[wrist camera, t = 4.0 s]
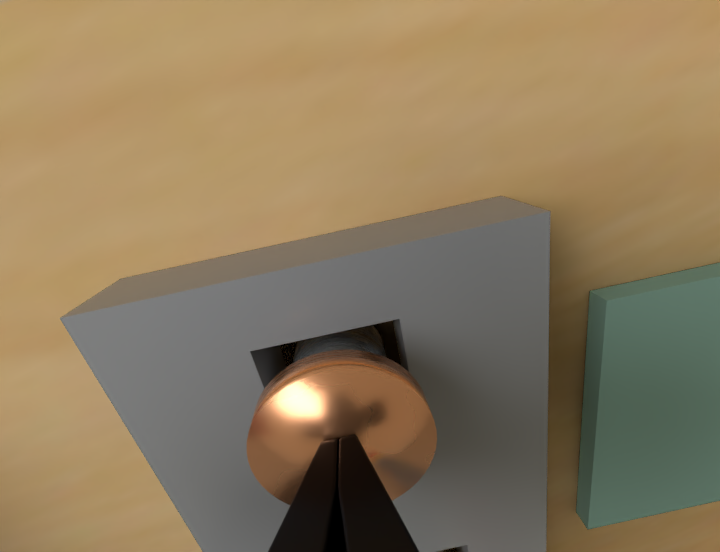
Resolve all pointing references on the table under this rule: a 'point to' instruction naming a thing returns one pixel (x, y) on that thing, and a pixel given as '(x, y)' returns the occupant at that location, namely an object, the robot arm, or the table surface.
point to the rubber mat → (651, 398)
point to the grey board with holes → (331, 315)
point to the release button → (341, 413)
